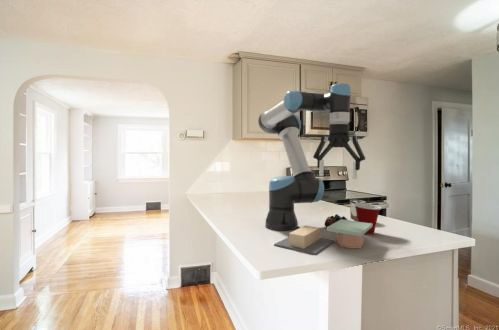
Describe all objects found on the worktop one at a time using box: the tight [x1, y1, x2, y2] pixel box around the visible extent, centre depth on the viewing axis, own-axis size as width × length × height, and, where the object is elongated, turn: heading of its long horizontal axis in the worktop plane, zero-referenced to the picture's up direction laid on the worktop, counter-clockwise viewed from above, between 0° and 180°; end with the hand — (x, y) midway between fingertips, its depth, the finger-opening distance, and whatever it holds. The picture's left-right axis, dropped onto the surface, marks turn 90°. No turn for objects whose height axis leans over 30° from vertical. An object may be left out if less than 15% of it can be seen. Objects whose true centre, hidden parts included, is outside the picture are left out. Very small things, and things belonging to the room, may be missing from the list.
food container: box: [349, 199, 367, 222], centre depth 142 cm, size 12×6×10 cm, turn 179°
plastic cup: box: [354, 203, 382, 235], centre depth 119 cm, size 11×11×12 cm
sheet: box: [326, 219, 373, 236], centre depth 103 cm, size 12×16×1 cm
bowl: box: [336, 232, 365, 249], centre depth 103 cm, size 9×9×6 cm
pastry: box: [324, 214, 348, 230], centre depth 129 cm, size 11×12×6 cm
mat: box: [273, 225, 335, 256], centre depth 104 cm, size 16×18×5 cm
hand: (337, 177), depth 111 cm, fingers open, 13 cm apart
